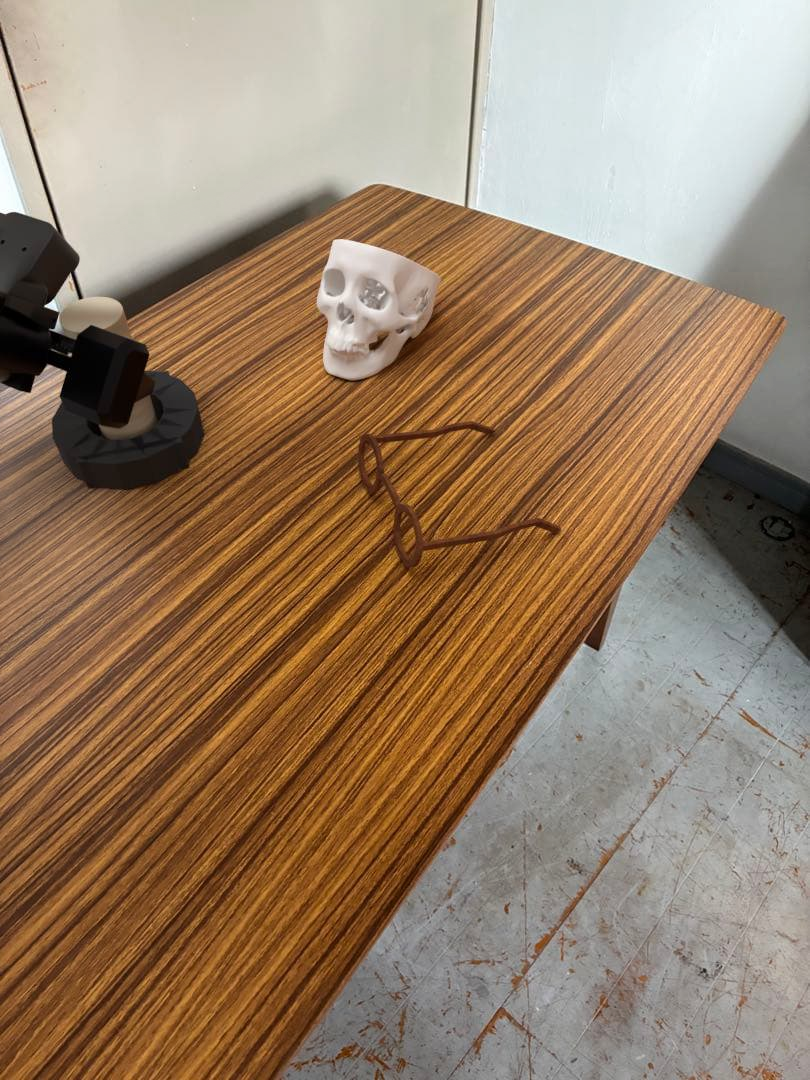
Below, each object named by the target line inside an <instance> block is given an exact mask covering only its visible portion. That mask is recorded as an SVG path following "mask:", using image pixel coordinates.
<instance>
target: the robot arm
mask: <svg viewBox="0 0 810 1080" xmlns="http://www.w3.org/2000/svg"><path fill="white" fill-rule="evenodd" d="M80 260H81V257H80V255H79V253H78V252H77V251H76V250H75V249H74V247H73V246H72V245H71V244H70V243H69V242H68V241H67V240H66V239H65V238H64V237H63V236H62V234H61V233H60V232H59V231H58V230H57V228H56V227H55V226H53V224H52V223H51V222H49V221H46V220H43V219H40V218H36V217H33V216H31V215H27V214H24V213H21V212H17V211H10V212H7V213H3V212H0V384H2V385H4V386H6V387H8V388H11V389H14V390H16V391H19V392H23V393H27V394H31V393H32V389H33V385H34V382H35V379H36V377H39V376H40V375H42V373H43V372H44V371H45V369H46V367H47V365H49V366H51V367H54V368H56V369H59V370H61V371H64V372H65V376H64V379H63V383H62V386H61V390H60V392H59V398H60V401H61V402H62V403H63V406H64V408H65V411H68V412H70V413H72V414H75V415H77V416H80V417H82V418H84V419H87V420H89V421H92V422H94V423H96V424H99V425H101V426H106V427H111V428H117V429H121V428H122V427H124V426H126V425H127V424H128V423H129V420H130V416H131V413H132V410H133V407H134V404H135V403H136V402H137V401H139V400H141V399H143V398H145V397H147V396H149V395H150V394H152V392H153V389H154V386H155V380H154V379H152V378H151V377H150V376H148V375H147V374H146V373H145V372H144V371H146V368H147V365H148V361H149V358H150V352H149V349H148V346H147V344H145V343H143V342H141V341H137V340H134V339H133V338H132V339H133V340H132V339H129V338H127V337H124V336H121V335H118V334H116V333H113V332H110V331H107V330H104V329H102V328H99V327H96V326H93V325H90V326H89V327H87V328H86V329H85V330H83V331H82V332H81V333H79V334H78V335H77V339H73V338H71V337H68V336H65V335H64V333H61V332H57V331H54V330H55V329H56V326H57V323H58V321H59V316H60V314H61V312H60V311H57V310H55V309H52V308H49V307H46V306H48V305H49V304H50V303H51V302H53V301H54V300H55V298H56V296H57V295H58V294H59V292H60V290H61V289H62V287H63V286H64V285H65V283H66V281H67V279H68V278H69V276H70V275H71V273H72V272H75V271H76V270H77V268H78V266H79V264H80ZM69 353H70V354H71V353H72V354H71V356H70V355H69Z"/></svg>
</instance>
